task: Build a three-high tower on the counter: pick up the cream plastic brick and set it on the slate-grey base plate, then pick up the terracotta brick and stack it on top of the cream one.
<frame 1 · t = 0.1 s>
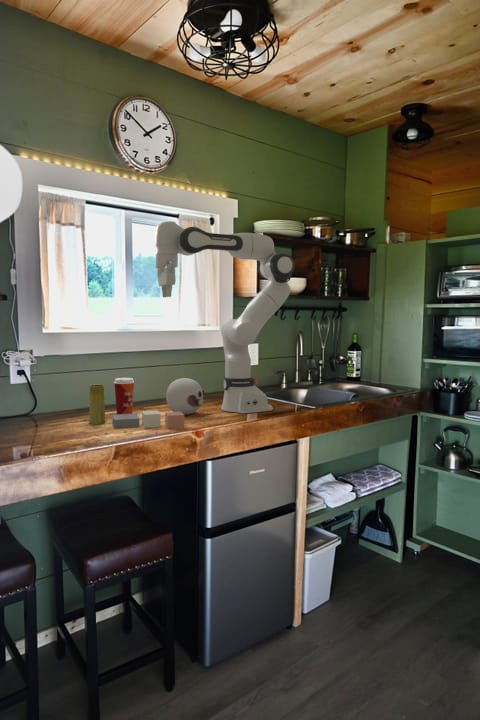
hand: (166, 297, 201), 48 cm above the countertop, fingers open, 8 cm apart
toy: (185, 414, 204), on the countertop
brick b: (174, 426, 183), on the countertop
coffee cup: (124, 415, 201), on the countertop
brick a: (151, 425, 184), on the countertop
base: (125, 424, 185), on the countertop
vase: (97, 423, 188), on the countertop
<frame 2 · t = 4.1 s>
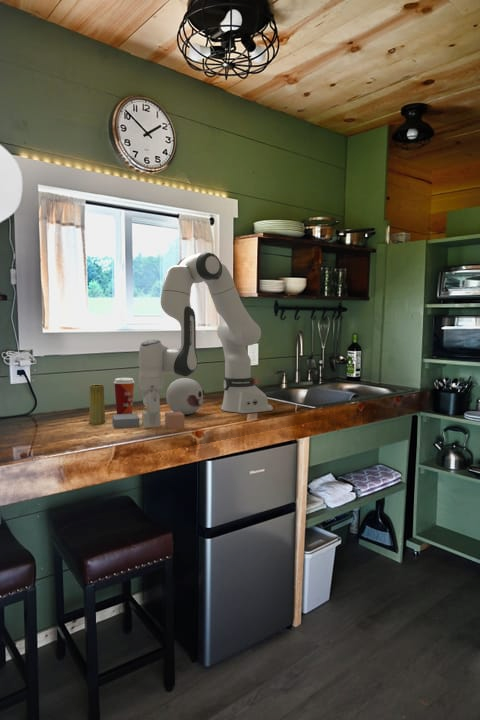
hand: (151, 421, 184), 2 cm above the countertop, fingers closed on brick a, 6 cm apart
brick a: (151, 425, 184), on the countertop, touching gripper
everything else where it was.
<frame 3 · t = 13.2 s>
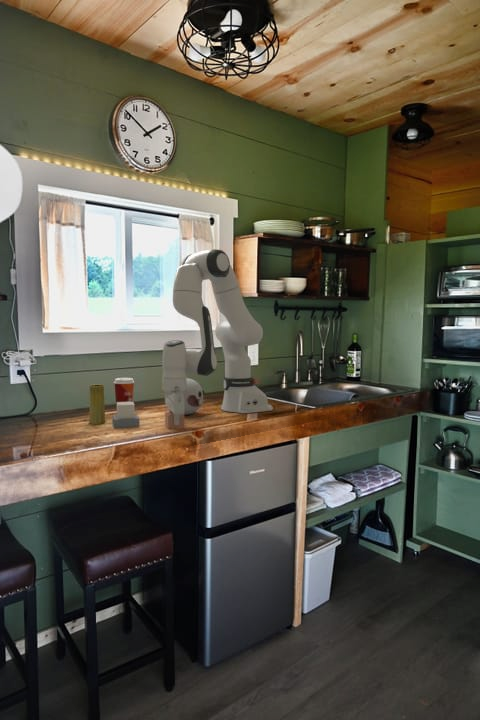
hand: (174, 422, 183), 2 cm above the countertop, fingers closed on brick b, 6 cm apart
brick b: (174, 426, 183), on the countertop, touching gripper
brick a: (125, 416, 185), point 3 cm above the countertop, touching base
everything else where it was.
when the fingers open (11 cm above the countertop, at t = 19.4 s): brick b stays where it is, resting on brick a.
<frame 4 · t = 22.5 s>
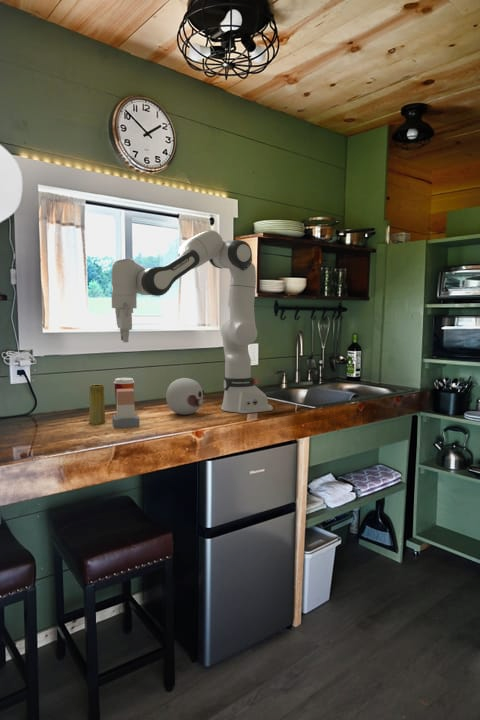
hand: (124, 341, 182), 31 cm above the countertop, fingers open, 8 cm apart
brick b: (125, 403, 185), point 8 cm above the countertop, touching brick a
brick a: (125, 416, 185), point 3 cm above the countertop, touching base, brick b
everything else where it was.
at the end: brick a 0.0 cm off-centre on the base, point 3.0 cm above the base's base; brick b 0.0 cm off-centre on the brick a, point 5.0 cm above the brick a's base; brick b tilted 0° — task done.
